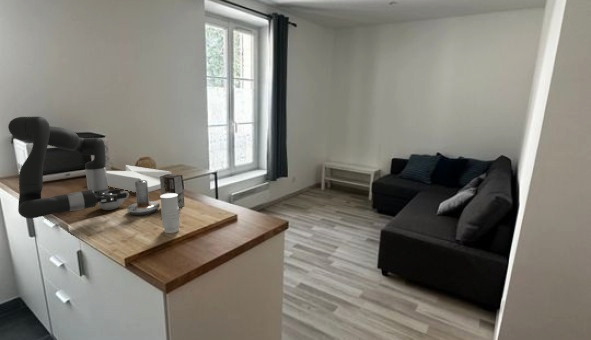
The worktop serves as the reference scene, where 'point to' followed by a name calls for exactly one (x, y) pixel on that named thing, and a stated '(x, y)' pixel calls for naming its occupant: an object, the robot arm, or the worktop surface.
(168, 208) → the candle
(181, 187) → the coffee box
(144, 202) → the gray metal canister
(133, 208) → the round metal dish
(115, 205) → the teacup
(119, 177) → the white paper airplane
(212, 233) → the worktop surface
